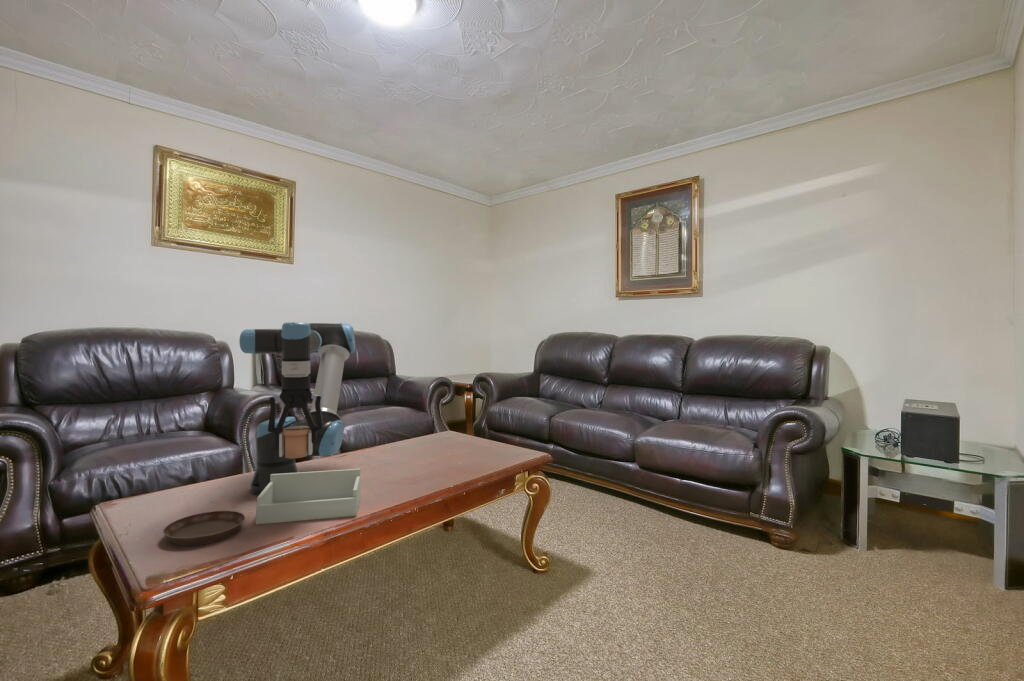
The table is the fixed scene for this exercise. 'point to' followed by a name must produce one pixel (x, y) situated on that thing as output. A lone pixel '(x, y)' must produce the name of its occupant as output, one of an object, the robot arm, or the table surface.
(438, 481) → the table surface
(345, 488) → the frame
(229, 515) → the plant saucer
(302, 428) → the terracotta pot
